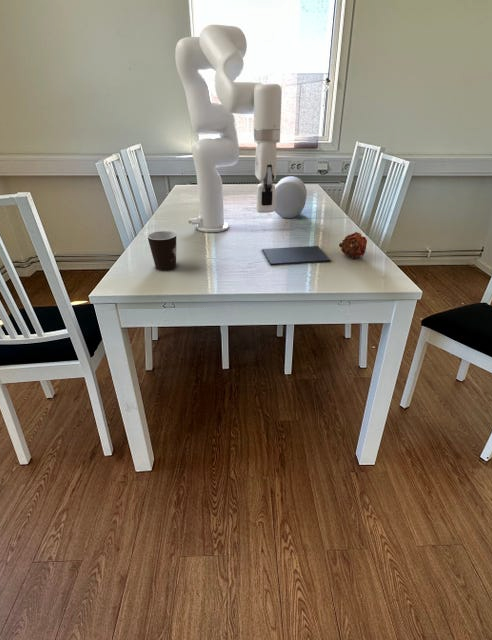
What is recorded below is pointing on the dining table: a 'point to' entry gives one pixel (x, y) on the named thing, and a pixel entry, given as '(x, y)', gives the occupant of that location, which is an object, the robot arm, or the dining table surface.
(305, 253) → the mat
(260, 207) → the eye dropper bottle
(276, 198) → the grey egg shape
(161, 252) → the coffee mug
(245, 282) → the dining table surface
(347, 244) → the dragon fruit
